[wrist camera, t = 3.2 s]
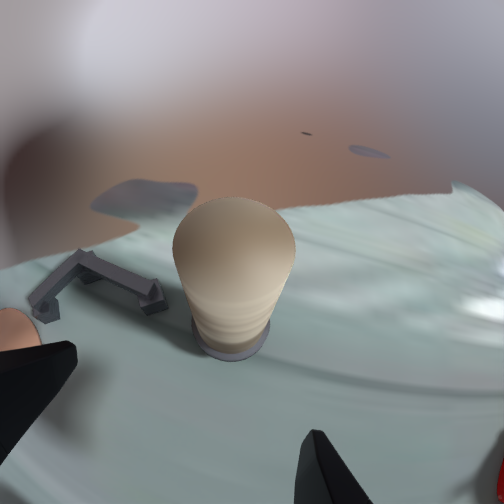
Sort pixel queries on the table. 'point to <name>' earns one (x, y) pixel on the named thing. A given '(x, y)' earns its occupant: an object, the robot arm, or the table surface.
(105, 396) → the table surface
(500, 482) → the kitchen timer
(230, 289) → the birch ring post
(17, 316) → the terracotta coaster
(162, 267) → the table surface
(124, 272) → the grey angled bracket
